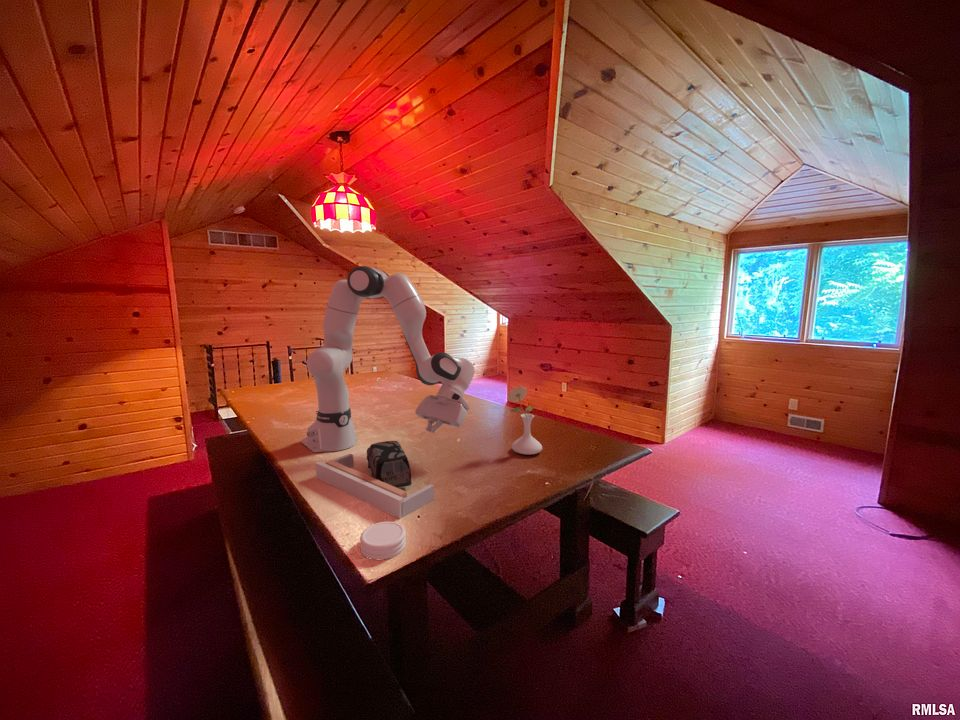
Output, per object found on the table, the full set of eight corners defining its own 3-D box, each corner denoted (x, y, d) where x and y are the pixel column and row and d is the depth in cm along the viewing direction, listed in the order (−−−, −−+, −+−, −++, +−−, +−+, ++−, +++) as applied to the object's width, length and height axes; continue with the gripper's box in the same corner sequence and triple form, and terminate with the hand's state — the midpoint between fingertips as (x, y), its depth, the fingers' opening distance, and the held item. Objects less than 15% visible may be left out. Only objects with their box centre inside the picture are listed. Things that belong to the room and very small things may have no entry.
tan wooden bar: (326, 477, 122) (325, 462, 121) (332, 474, 123) (331, 460, 123) (401, 512, 101) (400, 494, 100) (407, 509, 103) (406, 491, 102)
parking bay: (316, 477, 121) (315, 462, 121) (350, 464, 131) (350, 450, 130) (400, 518, 98) (399, 500, 97) (434, 499, 108) (433, 482, 107)
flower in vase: (539, 445, 149) (540, 382, 145) (545, 457, 137) (546, 388, 134) (505, 446, 148) (506, 382, 145) (508, 457, 137) (509, 389, 133)
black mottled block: (397, 459, 136) (396, 432, 135) (413, 490, 114) (412, 457, 112) (366, 464, 132) (364, 436, 131) (376, 497, 110) (374, 463, 108)
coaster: (351, 548, 87) (351, 534, 86) (388, 529, 94) (388, 515, 94) (377, 568, 80) (376, 552, 80) (415, 545, 88) (414, 531, 87)
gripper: (423, 389, 143) (404, 421, 137) (465, 397, 131) (446, 432, 125) (431, 399, 147) (413, 430, 141) (473, 407, 135) (456, 442, 129)
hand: (429, 431), depth 133 cm, fingers closed
